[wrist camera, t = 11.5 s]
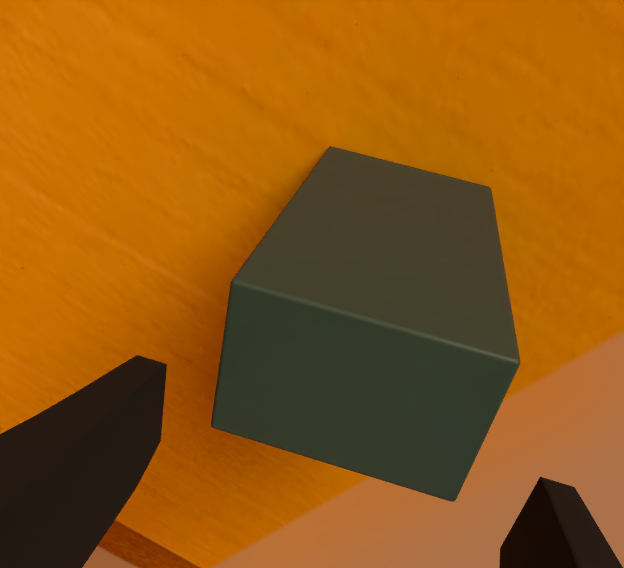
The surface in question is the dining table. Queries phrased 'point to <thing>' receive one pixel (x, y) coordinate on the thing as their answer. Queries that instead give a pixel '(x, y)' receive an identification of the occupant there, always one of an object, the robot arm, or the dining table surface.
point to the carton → (372, 325)
